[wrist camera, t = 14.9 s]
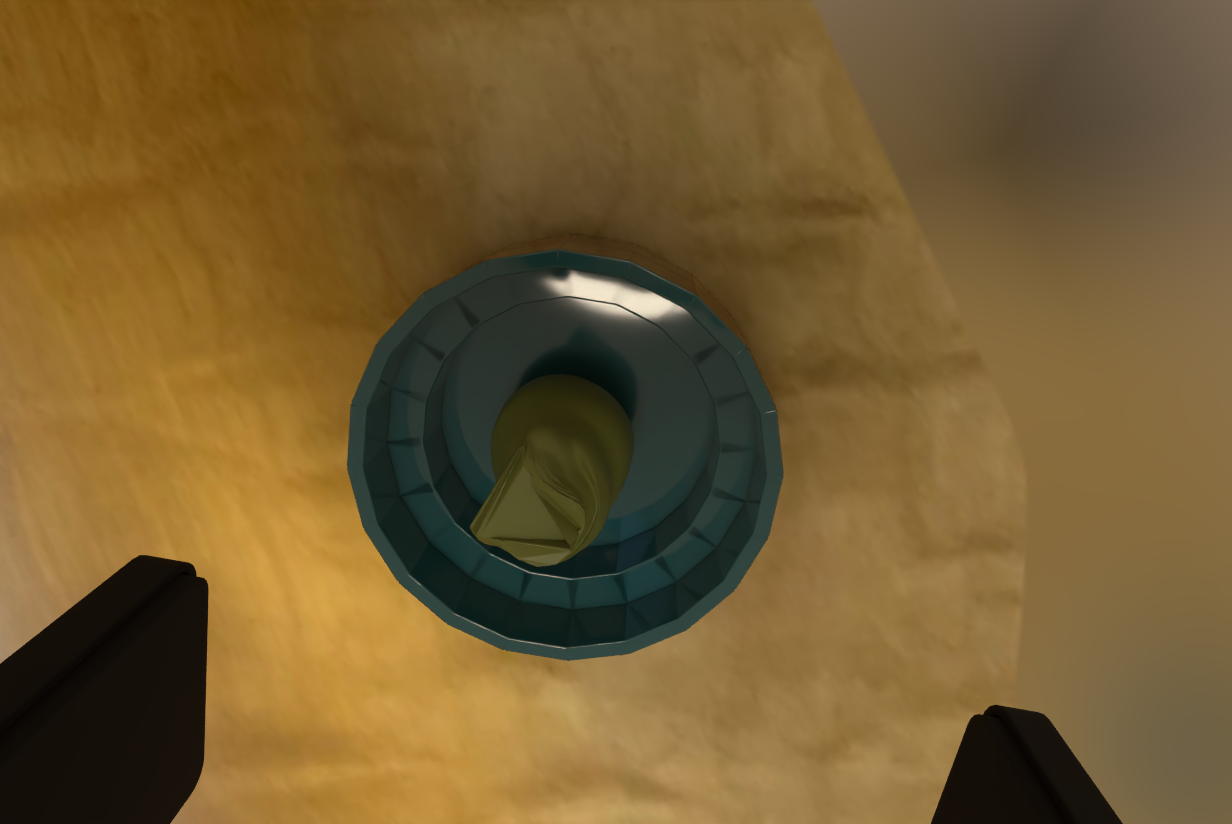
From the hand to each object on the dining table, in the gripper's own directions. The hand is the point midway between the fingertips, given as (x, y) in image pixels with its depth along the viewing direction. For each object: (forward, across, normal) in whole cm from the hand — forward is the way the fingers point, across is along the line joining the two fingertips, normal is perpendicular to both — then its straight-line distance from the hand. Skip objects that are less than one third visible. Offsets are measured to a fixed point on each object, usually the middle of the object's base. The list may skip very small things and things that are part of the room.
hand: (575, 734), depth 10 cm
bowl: (+24, +1, +4) cm, 25 cm away
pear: (+24, +2, +4) cm, 24 cm away
